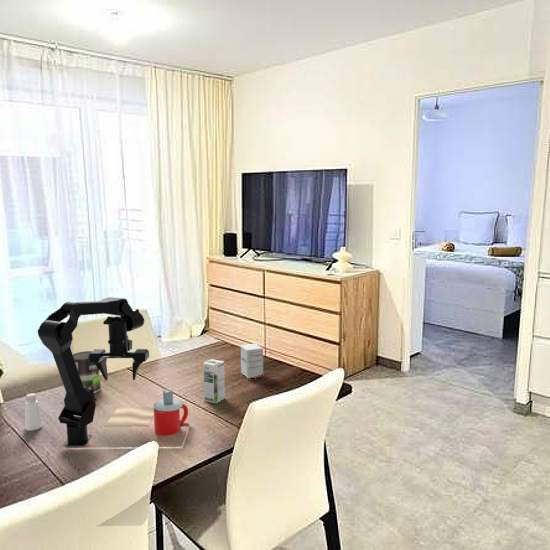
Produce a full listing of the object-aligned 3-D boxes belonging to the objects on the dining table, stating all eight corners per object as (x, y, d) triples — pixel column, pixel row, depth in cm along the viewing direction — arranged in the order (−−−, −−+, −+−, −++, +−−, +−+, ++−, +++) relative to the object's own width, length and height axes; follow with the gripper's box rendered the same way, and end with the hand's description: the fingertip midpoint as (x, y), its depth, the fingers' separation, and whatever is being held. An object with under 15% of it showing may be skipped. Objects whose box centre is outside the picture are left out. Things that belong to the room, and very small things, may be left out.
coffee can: (106, 386, 189) (104, 351, 186) (91, 396, 179) (89, 360, 176) (82, 384, 191) (80, 350, 188) (66, 394, 181) (64, 358, 178)
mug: (195, 425, 156) (194, 402, 154) (164, 439, 147) (163, 415, 145) (179, 418, 161) (179, 396, 159) (149, 431, 152) (148, 408, 150)
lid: (181, 411, 148) (180, 396, 147) (151, 412, 147) (150, 397, 147) (184, 399, 157) (183, 385, 156) (156, 400, 156) (155, 386, 155)
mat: (148, 427, 154) (148, 425, 154) (104, 427, 154) (104, 426, 154) (158, 408, 168) (157, 407, 168) (117, 408, 168) (117, 407, 168)
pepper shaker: (38, 421, 159) (35, 389, 157) (46, 426, 155) (43, 394, 153) (21, 427, 154) (18, 395, 153) (28, 432, 151) (26, 399, 149)
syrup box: (203, 401, 174) (202, 363, 172) (212, 395, 179) (211, 358, 177) (216, 404, 172) (215, 365, 169) (225, 398, 177) (224, 360, 174)
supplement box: (240, 374, 201) (240, 345, 199) (256, 371, 204) (256, 342, 202) (247, 380, 195) (246, 350, 193) (263, 377, 198) (263, 347, 196)
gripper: (152, 328, 167) (153, 371, 169) (98, 328, 167) (100, 371, 169) (143, 337, 156) (146, 383, 158) (86, 337, 156) (89, 383, 158)
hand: (120, 380), depth 161 cm, fingers open, 9 cm apart
